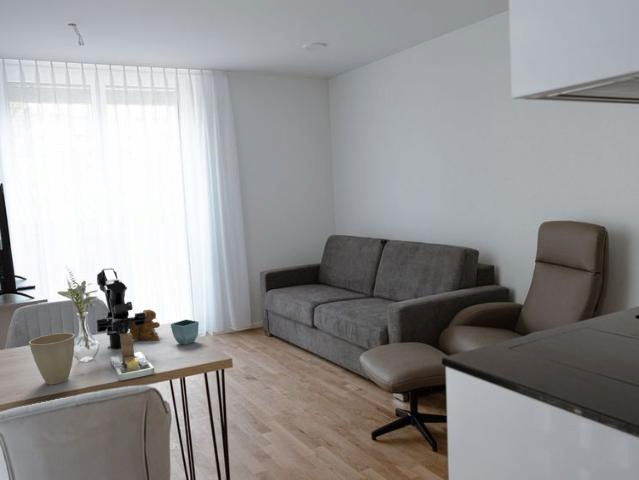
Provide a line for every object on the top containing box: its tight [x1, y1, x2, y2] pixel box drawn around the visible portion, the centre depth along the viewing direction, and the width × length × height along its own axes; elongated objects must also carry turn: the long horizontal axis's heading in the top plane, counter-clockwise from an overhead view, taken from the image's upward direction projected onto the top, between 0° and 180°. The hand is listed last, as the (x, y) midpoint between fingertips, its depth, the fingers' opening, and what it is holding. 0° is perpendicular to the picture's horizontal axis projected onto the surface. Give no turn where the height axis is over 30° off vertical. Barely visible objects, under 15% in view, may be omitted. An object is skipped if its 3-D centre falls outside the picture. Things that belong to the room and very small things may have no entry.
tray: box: [115, 361, 156, 381], centre depth 203 cm, size 8×12×3 cm
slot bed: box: [109, 351, 149, 375], centre depth 215 cm, size 18×12×2 cm, turn 27°
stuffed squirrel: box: [129, 309, 161, 342], centre depth 252 cm, size 10×14×13 cm
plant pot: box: [28, 332, 76, 385], centre depth 202 cm, size 15×15×16 cm
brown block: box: [120, 332, 136, 367], centre depth 215 cm, size 8×4×11 cm, turn 28°
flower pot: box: [170, 319, 199, 346], centre depth 242 cm, size 9×9×9 cm
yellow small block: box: [125, 358, 140, 372], centre depth 209 cm, size 5×4×3 cm
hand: (125, 339), depth 220 cm, fingers closed
